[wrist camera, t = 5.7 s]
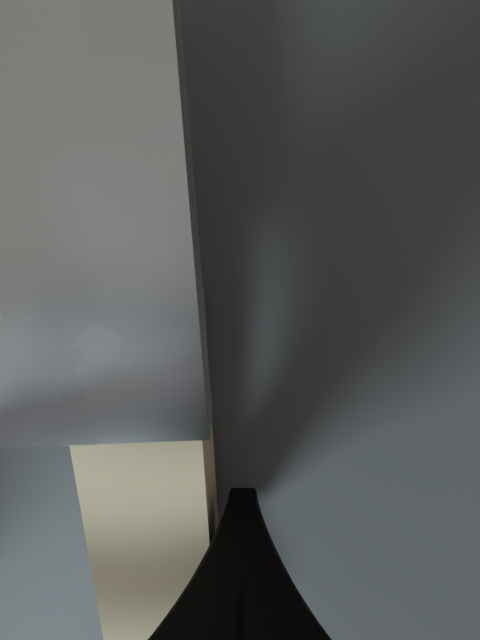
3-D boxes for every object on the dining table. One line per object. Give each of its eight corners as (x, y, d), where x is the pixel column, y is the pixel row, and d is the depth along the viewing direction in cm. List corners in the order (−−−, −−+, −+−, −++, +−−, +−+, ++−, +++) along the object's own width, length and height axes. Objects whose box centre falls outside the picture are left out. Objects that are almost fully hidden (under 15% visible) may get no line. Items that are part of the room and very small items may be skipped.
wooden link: (248, 698, 16) (249, 864, 12) (126, 700, 16) (89, 865, 12) (231, 286, 11) (224, 340, 7) (60, 291, 11) (-35, 348, 7)
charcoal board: (32, 733, 18) (21, 764, 17) (-179, 4, 10) (-222, -14, 9) (469, 724, 18) (482, 755, 17) (592, -47, 10) (628, -70, 9)
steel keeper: (220, 355, 12) (208, 440, 8) (75, 361, 12) (-7, 448, 8) (196, 14, 10) (163, -102, 6) (16, 26, 10) (-141, -81, 6)
